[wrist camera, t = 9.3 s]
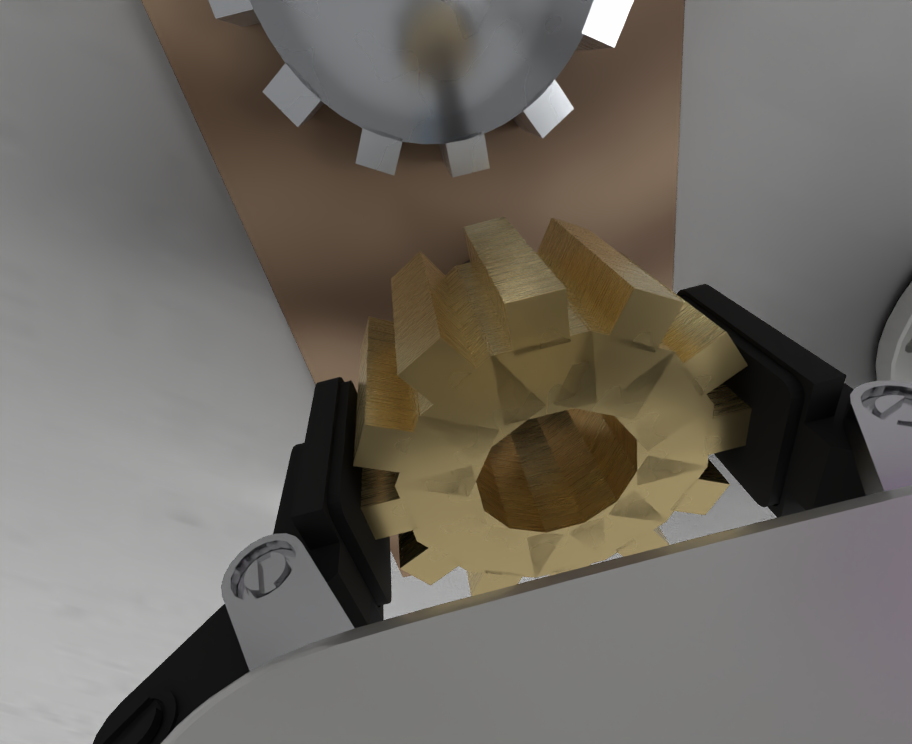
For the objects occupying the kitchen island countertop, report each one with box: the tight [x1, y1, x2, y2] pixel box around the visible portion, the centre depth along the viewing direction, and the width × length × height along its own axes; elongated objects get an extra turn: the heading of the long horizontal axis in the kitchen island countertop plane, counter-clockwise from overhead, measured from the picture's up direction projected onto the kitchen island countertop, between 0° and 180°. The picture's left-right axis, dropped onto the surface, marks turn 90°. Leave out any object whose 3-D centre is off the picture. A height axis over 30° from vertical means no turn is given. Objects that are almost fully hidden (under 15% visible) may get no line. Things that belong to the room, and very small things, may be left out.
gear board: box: [141, 0, 685, 577], centre depth 16 cm, size 30×14×6 cm, turn 12°
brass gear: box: [353, 217, 751, 596], centre depth 11 cm, size 7×7×4 cm
